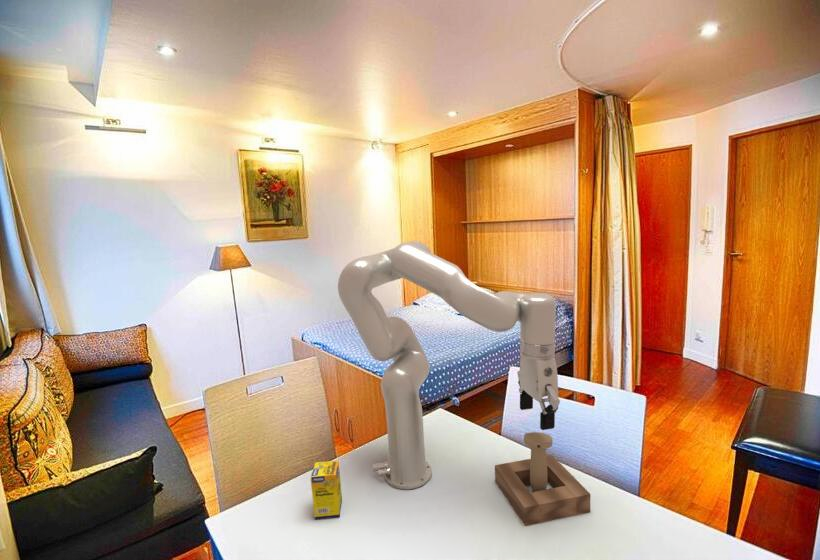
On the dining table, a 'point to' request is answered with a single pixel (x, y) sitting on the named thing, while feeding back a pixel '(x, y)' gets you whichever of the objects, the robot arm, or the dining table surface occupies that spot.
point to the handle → (538, 459)
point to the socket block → (542, 492)
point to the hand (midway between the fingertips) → (536, 418)
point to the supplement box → (326, 490)
